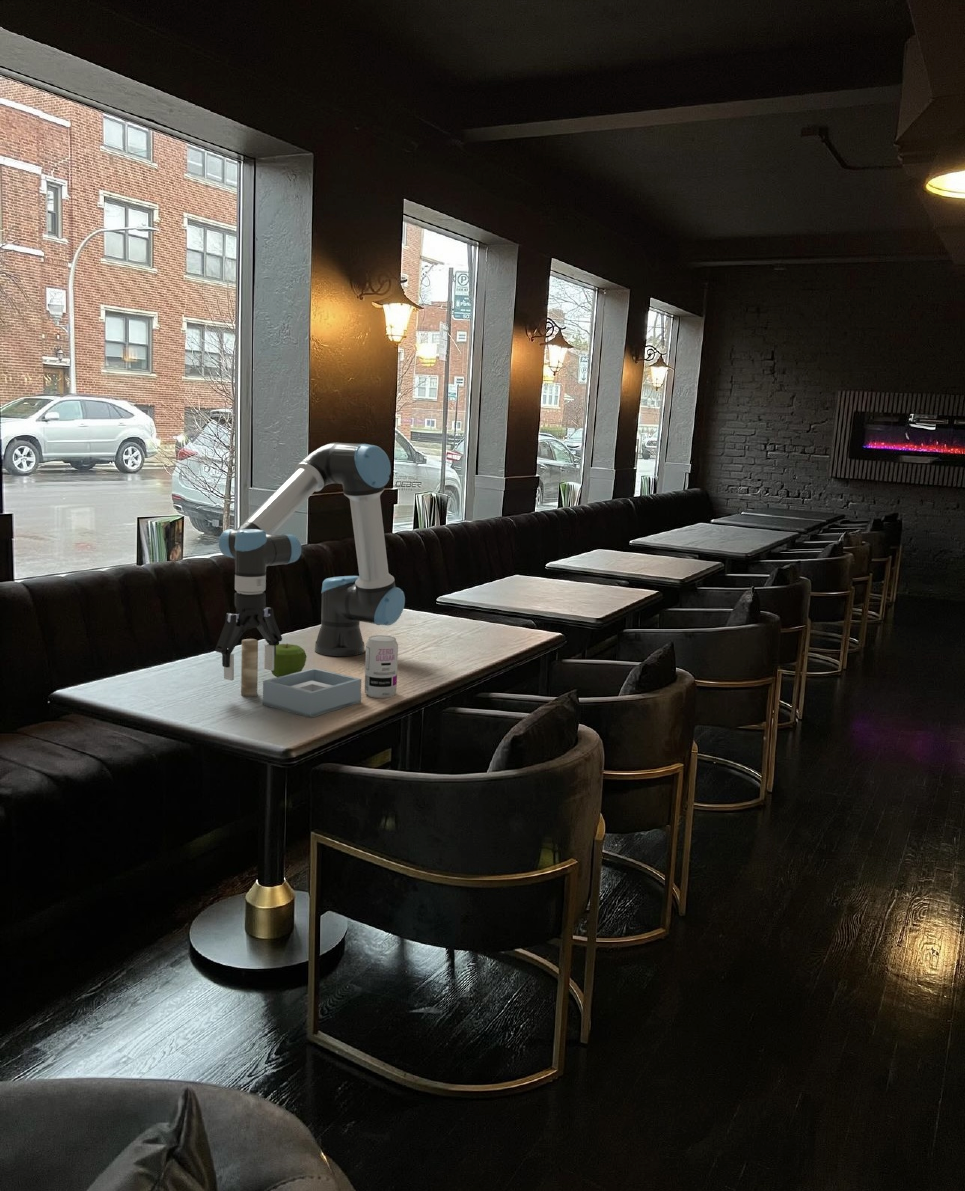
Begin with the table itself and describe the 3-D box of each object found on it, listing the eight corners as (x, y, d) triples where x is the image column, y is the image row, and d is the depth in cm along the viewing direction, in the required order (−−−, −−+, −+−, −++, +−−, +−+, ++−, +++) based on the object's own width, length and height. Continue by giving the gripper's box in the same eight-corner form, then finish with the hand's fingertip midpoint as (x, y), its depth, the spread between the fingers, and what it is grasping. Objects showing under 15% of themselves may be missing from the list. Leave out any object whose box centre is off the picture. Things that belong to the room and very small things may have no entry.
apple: (258, 677, 262) (259, 641, 260) (293, 672, 268) (294, 637, 267) (278, 686, 254) (278, 649, 252) (313, 681, 260) (314, 645, 259)
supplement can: (380, 688, 257) (382, 633, 254) (402, 695, 252) (404, 638, 249) (358, 693, 250) (359, 637, 248) (380, 700, 245) (382, 643, 243)
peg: (237, 694, 244) (238, 640, 242) (249, 691, 248) (250, 638, 245) (248, 697, 242) (249, 643, 240) (260, 694, 245) (261, 640, 243)
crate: (262, 704, 237) (263, 680, 236) (313, 690, 252) (314, 668, 251) (310, 717, 228) (311, 693, 227) (360, 702, 243) (361, 679, 242)
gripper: (221, 599, 228) (221, 686, 232) (296, 588, 249) (295, 668, 252) (200, 595, 232) (200, 680, 236) (275, 584, 253) (274, 663, 256)
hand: (249, 674), depth 244 cm, fingers open, 13 cm apart
